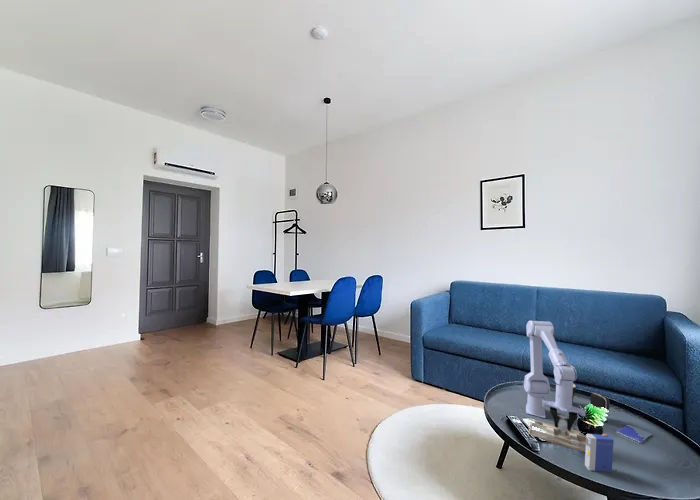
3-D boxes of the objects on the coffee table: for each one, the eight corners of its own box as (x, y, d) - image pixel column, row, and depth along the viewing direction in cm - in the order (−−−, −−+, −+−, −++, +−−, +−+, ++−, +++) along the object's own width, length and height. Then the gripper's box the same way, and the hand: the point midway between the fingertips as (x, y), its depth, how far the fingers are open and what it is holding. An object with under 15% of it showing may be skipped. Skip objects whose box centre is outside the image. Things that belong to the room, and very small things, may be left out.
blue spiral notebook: (640, 441, 131) (652, 433, 137) (616, 430, 138) (628, 423, 144) (640, 445, 131) (651, 437, 137) (615, 434, 138) (628, 427, 144)
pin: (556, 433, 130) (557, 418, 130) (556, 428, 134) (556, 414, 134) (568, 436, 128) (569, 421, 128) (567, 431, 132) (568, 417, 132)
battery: (610, 422, 146) (611, 398, 146) (603, 423, 145) (605, 398, 145) (595, 414, 153) (596, 391, 153) (588, 415, 152) (590, 391, 152)
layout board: (528, 420, 146) (529, 411, 146) (593, 437, 134) (593, 428, 134) (528, 436, 134) (529, 426, 133) (599, 456, 122) (600, 445, 122)
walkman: (606, 466, 116) (607, 434, 116) (612, 472, 113) (613, 438, 113) (583, 464, 117) (585, 432, 116) (588, 470, 114) (590, 437, 114)
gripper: (543, 394, 131) (542, 427, 131) (587, 404, 124) (585, 438, 124) (542, 387, 137) (541, 419, 137) (584, 396, 130) (582, 429, 130)
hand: (562, 427), depth 131 cm, fingers closed on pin, 4 cm apart
